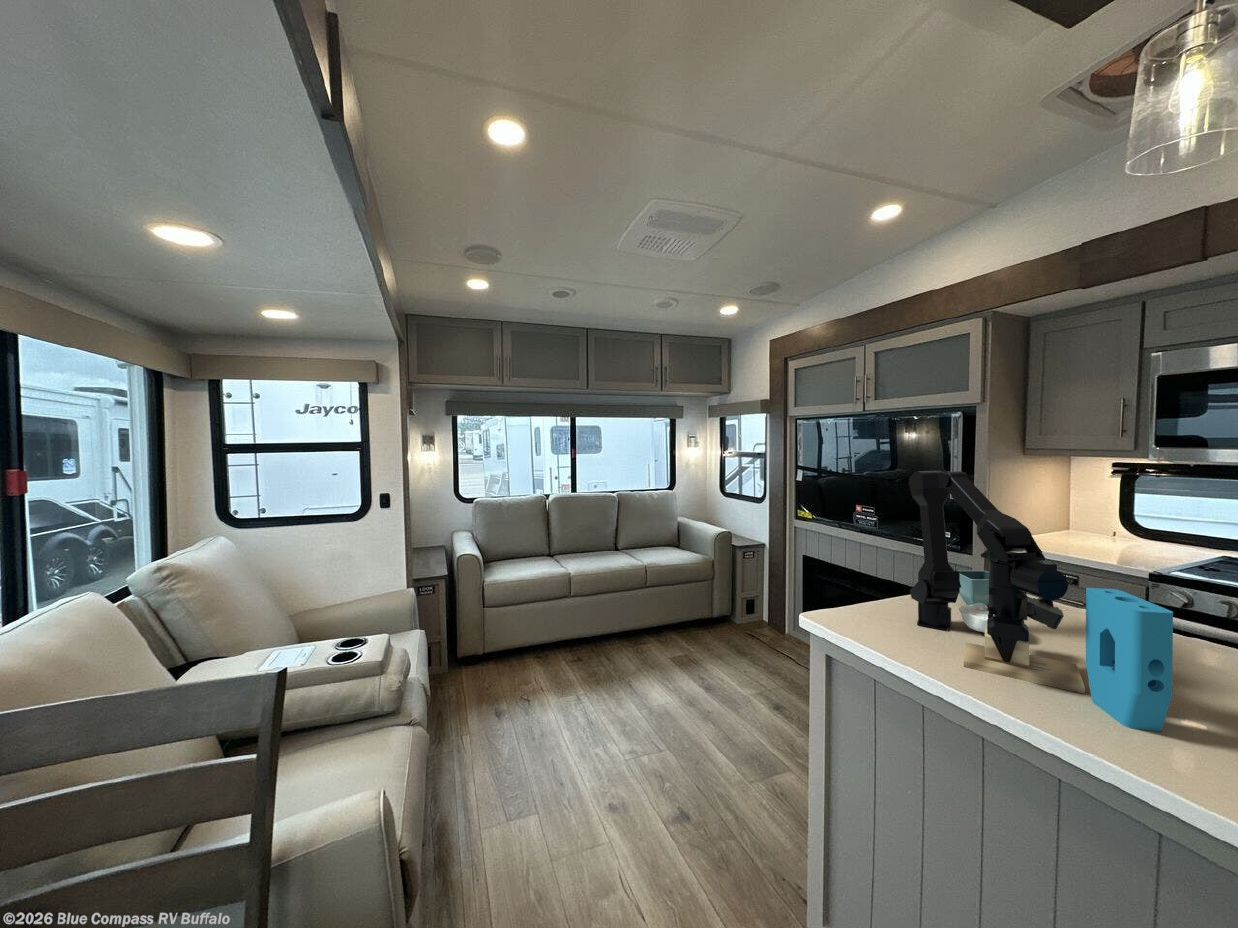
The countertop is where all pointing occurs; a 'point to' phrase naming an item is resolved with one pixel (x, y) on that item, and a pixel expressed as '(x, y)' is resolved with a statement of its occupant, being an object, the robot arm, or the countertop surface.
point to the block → (1129, 657)
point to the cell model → (975, 616)
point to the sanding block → (1018, 657)
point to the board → (1028, 669)
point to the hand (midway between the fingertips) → (1006, 657)
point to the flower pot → (974, 586)
